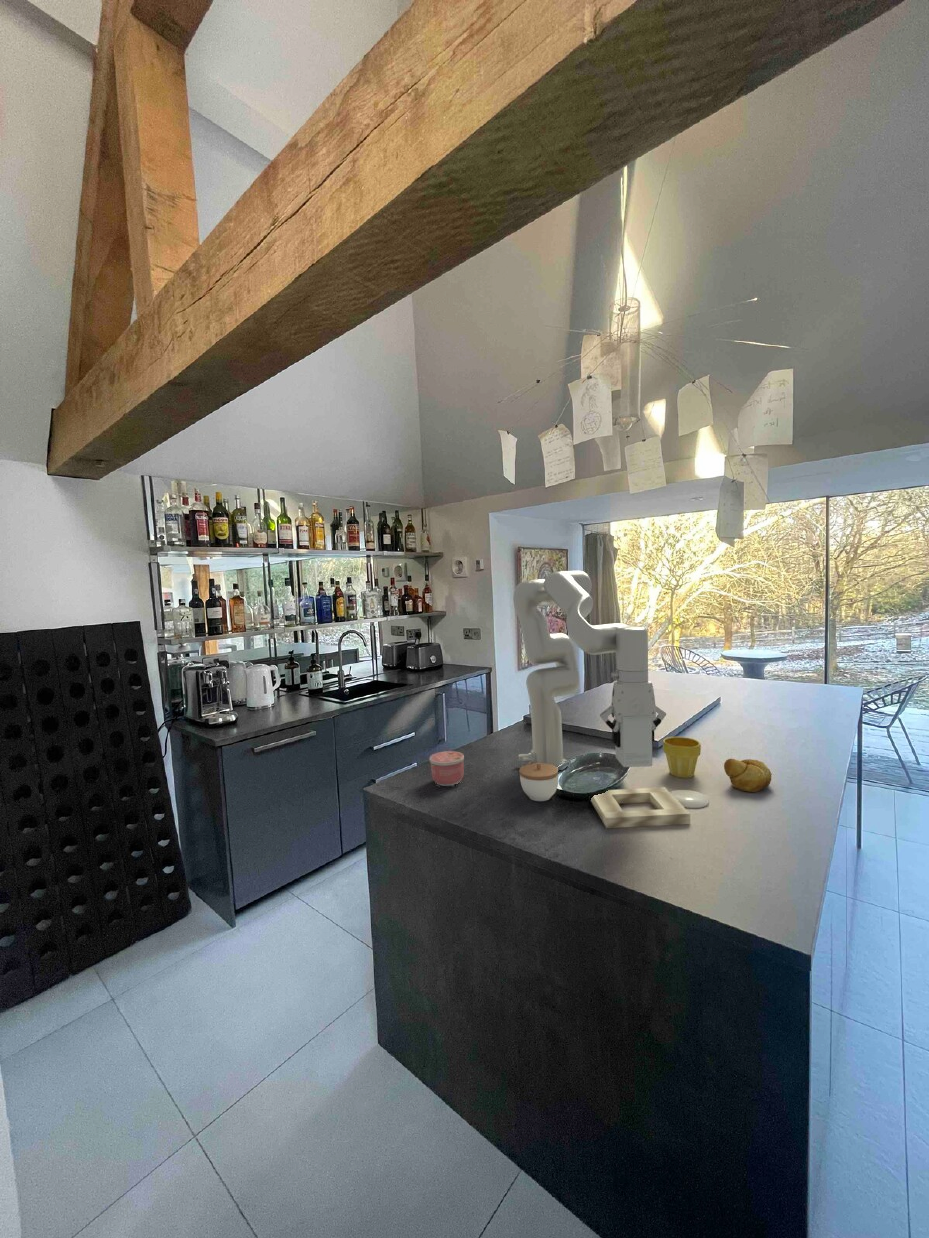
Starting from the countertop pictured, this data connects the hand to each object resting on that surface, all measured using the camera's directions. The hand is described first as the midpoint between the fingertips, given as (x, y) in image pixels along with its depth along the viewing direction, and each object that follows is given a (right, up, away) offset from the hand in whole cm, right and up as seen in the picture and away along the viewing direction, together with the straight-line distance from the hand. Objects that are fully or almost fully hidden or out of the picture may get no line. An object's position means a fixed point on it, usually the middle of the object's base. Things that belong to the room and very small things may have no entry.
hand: (633, 744), depth 130 cm
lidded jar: (-22, -18, +13) cm, 31 cm away
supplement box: (0, -5, 0) cm, 5 cm away
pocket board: (+1, -17, +1) cm, 17 cm away
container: (-48, -18, +27) cm, 58 cm away
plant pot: (+22, -15, +23) cm, 35 cm away
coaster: (+16, -16, +6) cm, 23 cm away
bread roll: (+37, -15, +12) cm, 41 cm away
